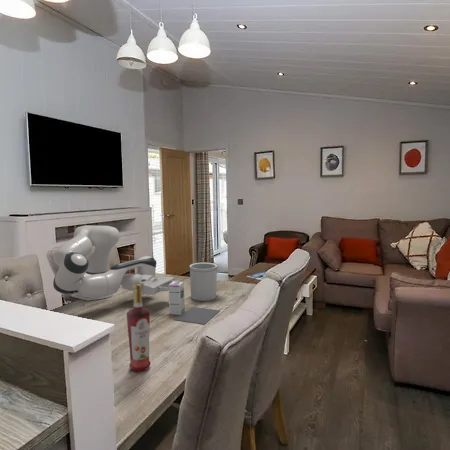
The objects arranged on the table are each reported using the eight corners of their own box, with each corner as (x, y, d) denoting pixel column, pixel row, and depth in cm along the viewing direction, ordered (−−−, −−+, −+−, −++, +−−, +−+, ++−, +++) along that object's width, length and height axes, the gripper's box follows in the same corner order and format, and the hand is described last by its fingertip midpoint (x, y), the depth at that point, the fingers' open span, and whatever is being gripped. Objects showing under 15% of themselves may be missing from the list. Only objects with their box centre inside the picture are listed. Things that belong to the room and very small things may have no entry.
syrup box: (181, 315, 164) (180, 284, 162) (169, 314, 165) (168, 284, 164) (184, 310, 170) (184, 281, 168) (173, 310, 171) (172, 280, 169)
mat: (174, 320, 158) (174, 319, 158) (192, 307, 174) (192, 306, 174) (204, 324, 152) (204, 323, 152) (220, 310, 169) (220, 310, 169)
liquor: (133, 376, 111) (130, 289, 108) (125, 366, 117) (122, 284, 114) (155, 369, 115) (152, 285, 112) (146, 360, 121) (143, 281, 118)
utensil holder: (221, 299, 187) (221, 266, 185) (194, 302, 181) (193, 269, 179) (212, 291, 200) (211, 261, 198) (186, 294, 195) (186, 263, 193)
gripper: (160, 284, 187) (183, 287, 182) (137, 295, 168) (162, 298, 163) (160, 273, 186) (183, 275, 181) (137, 282, 167) (162, 285, 162)
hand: (173, 286), depth 172 cm, fingers open, 8 cm apart
